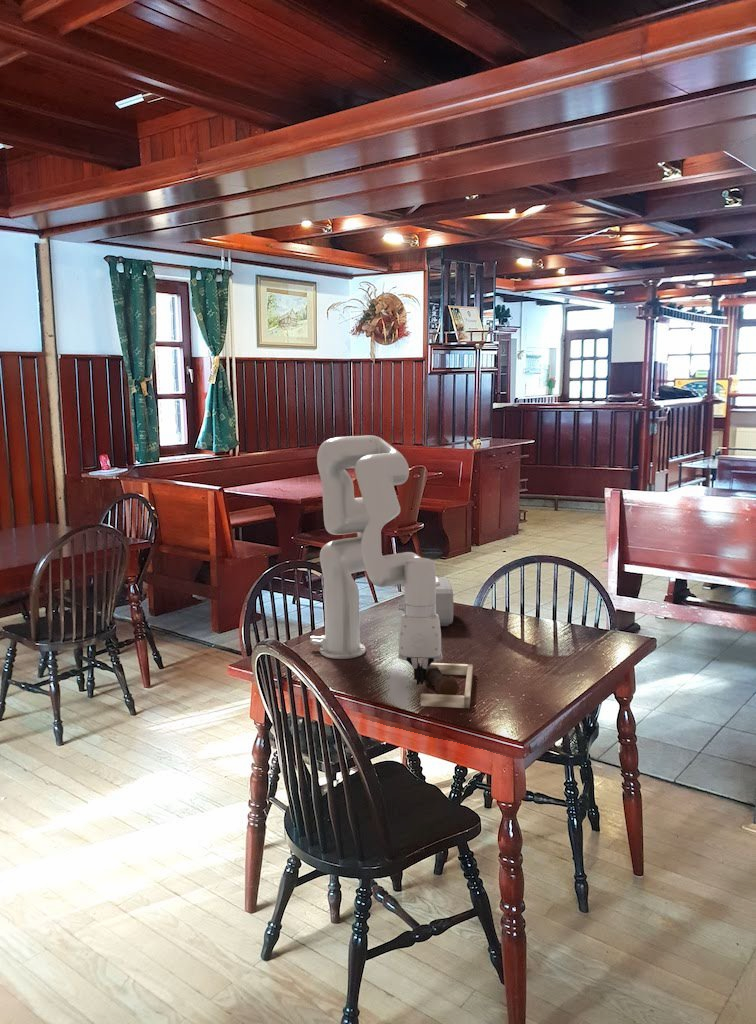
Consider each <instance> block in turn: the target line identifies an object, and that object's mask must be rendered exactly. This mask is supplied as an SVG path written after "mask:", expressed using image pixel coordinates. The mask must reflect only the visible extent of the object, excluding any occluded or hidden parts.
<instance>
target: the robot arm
mask: <svg viewBox="0 0 756 1024" xmlns="http://www.w3.org/2000/svg"><path fill="white" fill-rule="evenodd" d="M316 463H317V464H316V465H317V470H318V473H319V476H320V480H321V487H322V490H321V491H322V508H323V509H322V510H323V512H322V513H323V522H324V523H323V524H324V525H323V526H324V528H325V530H326V532H328V534H330V535H333V536H334V535H335V536H340V535H349V534H356V535H357V536H356V537H348V538H347V537H346V538H341V539H340V538H339V539H335V540H331V541H329V542H326V544H324V545H323V546H322V547H321V549H320V552H319V563H320V567H321V571H322V576H323V577H322V578H323V591H324V592H323V596H324V598H323V599H324V634H323V635H321V636H317V635H311V636H310V637H309V638H310V639H309V642H310V643H311V644H312V645H314V646H319V645H320V647H319V653H320V655H322V656H324V657H326V658H329V659H336V660H337V659H338V660H347V659H354V658H357V657H360V656H362V655H364V654H365V652H366V646H365V645H364V644H362V643H361V641H360V639H361V635H360V634H361V633H360V590H359V587H358V584H357V582H356V581H355V580H354V578H353V576H352V574H355V573H360V572H364V571H366V574H367V577H368V578H369V580H370V582H371V583H372V584H373V585H374V586H376V587H377V588H386V587H391V586H397V585H403V584H404V588H403V589H404V602H403V603H402V604H399V603H398V610H399V611H401V612H403V614H401V615H400V616H401V617H400V621H399V631H398V657H397V658H398V659H399V660H401V661H407V662H408V663H409V664H410V665H411V666H412V668H413V679H414V680H415V681H416V685H421V686H423V685H424V682H425V680H427V667H428V666H429V665H430V664H431V663H437V662H440V661H442V660H443V654H442V653H443V652H442V630H441V628H442V627H441V626H440V621H439V616H438V614H436V577H437V572H436V571H437V570H436V569H437V568H436V567H437V566H436V563H435V561H434V560H433V559H430V558H426V557H422V556H420V555H419V554H417V553H415V552H412V551H405V552H404V551H403V552H398V553H391V554H386V555H383V553H382V529H383V528H384V526H385V525H386V524H387V523H389V522H391V521H393V519H395V518H397V517H398V516H399V514H400V513H401V505H400V502H399V499H398V497H397V492H396V490H395V486H399V485H403V484H405V483H406V482H407V480H408V479H409V475H410V467H409V464H408V461H407V459H406V458H405V457H404V455H403V454H402V453H401V452H400V451H399V450H397V449H396V448H395V447H393V446H392V445H391V444H390V443H388V442H387V441H385V440H384V439H383V438H381V437H379V436H378V435H377V436H376V435H368V434H367V435H366V434H365V435H349V436H348V435H347V436H336V437H332V438H329V439H326V440H325V441H323V442H322V443H321V444H320V446H319V448H318V451H317V455H316ZM347 469H354V474H355V479H356V481H357V484H358V489H359V491H360V494H361V497H355V486H354V481H353V479H352V477H351V476H350V474H349V473H348V471H347ZM419 659H422V663H421V664H420V663H419Z"/></svg>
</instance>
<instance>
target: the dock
mask: <svg viewBox="0 0 756 1024" xmlns="http://www.w3.org/2000/svg"><path fill="white" fill-rule="evenodd" d="M430 666H437V667H438V668H439V670H440V671H441V673H442V675H449V676H453V675H454V676H466V678H465V685H464V686H465V688H464V695H459V694H456V695H440V694H438V693H420V707H434V708H435V707H436V708H437V707H439V708H454V709H455V708H459V709H470V705H471V694H472V685H473V673H474V672H473V671H474V670H473V669H474V668H473V667H474V665H473V664H471V663H467V664H466V663H450V662H449V663H444V662H432V663H431V664H430Z"/></svg>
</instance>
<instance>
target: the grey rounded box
mask: <svg viewBox="0 0 756 1024" xmlns="http://www.w3.org/2000/svg"><path fill="white" fill-rule="evenodd" d="M436 614H438V616H439V621H440V627H448V626H449V625H451V624H453V621H454V591H453V588H452V585H451V582H450V580H449V579H448V577H438V576H436Z"/></svg>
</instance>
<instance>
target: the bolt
mask: <svg viewBox="0 0 756 1024" xmlns="http://www.w3.org/2000/svg"><path fill="white" fill-rule="evenodd" d="M424 682H425V683H426V684H427V685H431V686H432V685H433V686H434V690H435V691H436V694H440V695H458V692H459V688H460V685H459V683H458V681H456V679H455V678H454V676H453V675H449V676H447V675H446V676H444V674H442V673H441V671H440V670H439V668H438V667H437V666H430V665H429V666H428V667H427V680H424Z"/></svg>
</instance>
